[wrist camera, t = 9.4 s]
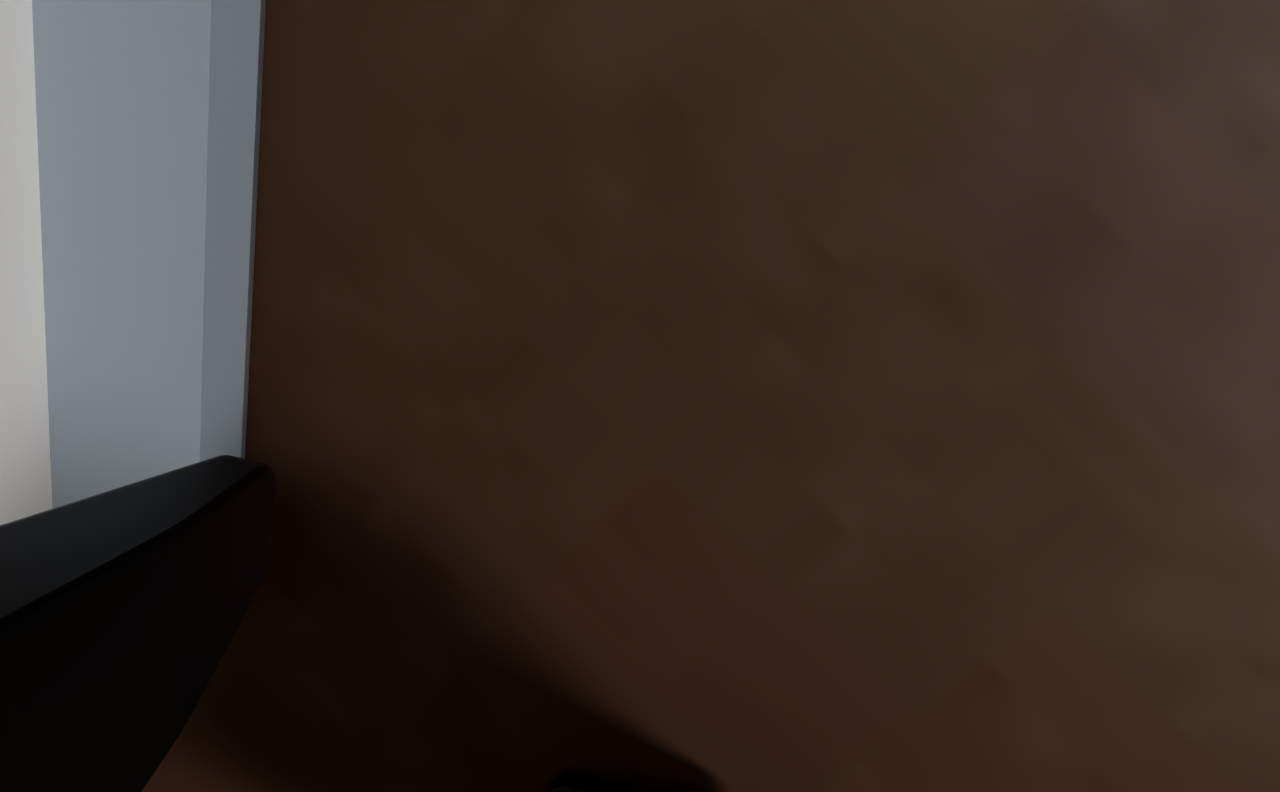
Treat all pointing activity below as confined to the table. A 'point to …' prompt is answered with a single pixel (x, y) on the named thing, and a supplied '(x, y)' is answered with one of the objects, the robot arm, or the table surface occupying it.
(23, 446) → the power strip
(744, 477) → the table surface
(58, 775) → the robot arm
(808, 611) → the table surface
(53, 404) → the keyhole board
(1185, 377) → the table surface
